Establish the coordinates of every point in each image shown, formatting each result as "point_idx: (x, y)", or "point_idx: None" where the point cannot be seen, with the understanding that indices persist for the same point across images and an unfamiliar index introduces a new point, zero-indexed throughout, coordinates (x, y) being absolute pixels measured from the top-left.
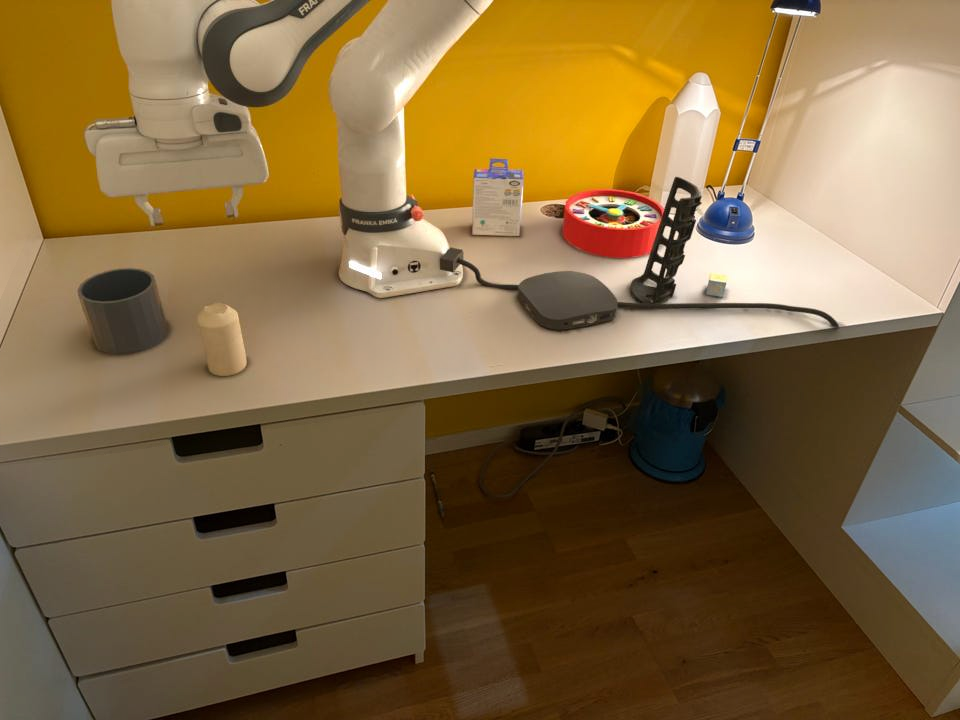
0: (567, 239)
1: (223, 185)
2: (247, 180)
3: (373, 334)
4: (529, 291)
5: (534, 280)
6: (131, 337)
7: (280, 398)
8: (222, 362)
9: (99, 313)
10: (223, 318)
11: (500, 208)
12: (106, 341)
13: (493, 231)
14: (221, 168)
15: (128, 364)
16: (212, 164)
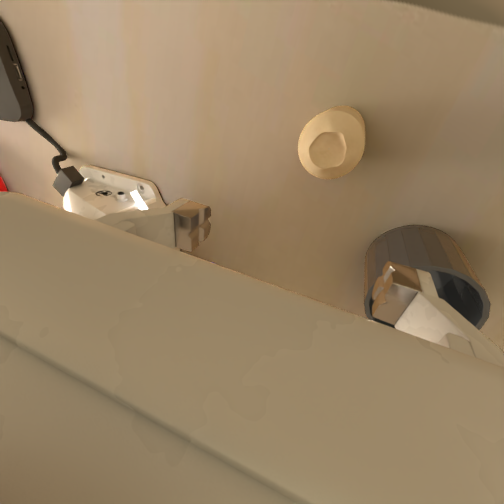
0: (2, 184)
1: (123, 233)
2: (33, 207)
3: (168, 114)
4: (7, 89)
5: (5, 111)
6: (429, 236)
7: (307, 2)
8: (350, 108)
9: (472, 273)
10: (326, 122)
11: None
12: (459, 249)
13: None
14: (42, 274)
15: (448, 205)
16: (49, 310)
